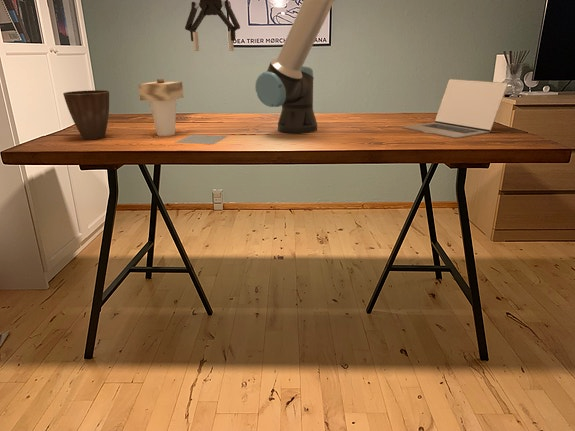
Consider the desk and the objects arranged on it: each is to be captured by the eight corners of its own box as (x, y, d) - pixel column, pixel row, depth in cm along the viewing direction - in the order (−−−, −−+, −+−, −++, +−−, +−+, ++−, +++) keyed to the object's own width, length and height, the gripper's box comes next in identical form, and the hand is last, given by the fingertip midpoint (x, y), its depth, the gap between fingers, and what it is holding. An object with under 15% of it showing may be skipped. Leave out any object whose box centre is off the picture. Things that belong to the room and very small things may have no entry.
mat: (228, 136, 163) (228, 136, 163) (213, 144, 151) (213, 144, 150) (192, 135, 167) (192, 134, 166) (174, 143, 154) (174, 142, 154)
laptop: (401, 129, 176) (404, 82, 170) (444, 123, 188) (449, 78, 182) (455, 140, 156) (462, 86, 149) (500, 132, 167) (508, 82, 161)
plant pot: (66, 137, 166) (57, 92, 161) (107, 132, 175) (100, 89, 170) (78, 143, 155) (70, 95, 150) (122, 137, 164) (115, 91, 159)
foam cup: (172, 138, 163) (168, 100, 158) (148, 137, 164) (144, 100, 160) (183, 133, 171) (180, 97, 167) (160, 132, 173) (156, 97, 169)
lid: (183, 97, 167) (181, 78, 165) (169, 100, 157) (167, 80, 155) (156, 97, 170) (154, 78, 167) (140, 100, 160) (137, 80, 157)
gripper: (247, -15, 160) (249, 50, 168) (181, -12, 166) (187, 50, 173) (239, -17, 153) (242, 50, 161) (172, -14, 159) (177, 51, 167)
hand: (213, 51), depth 167 cm, fingers open, 13 cm apart
